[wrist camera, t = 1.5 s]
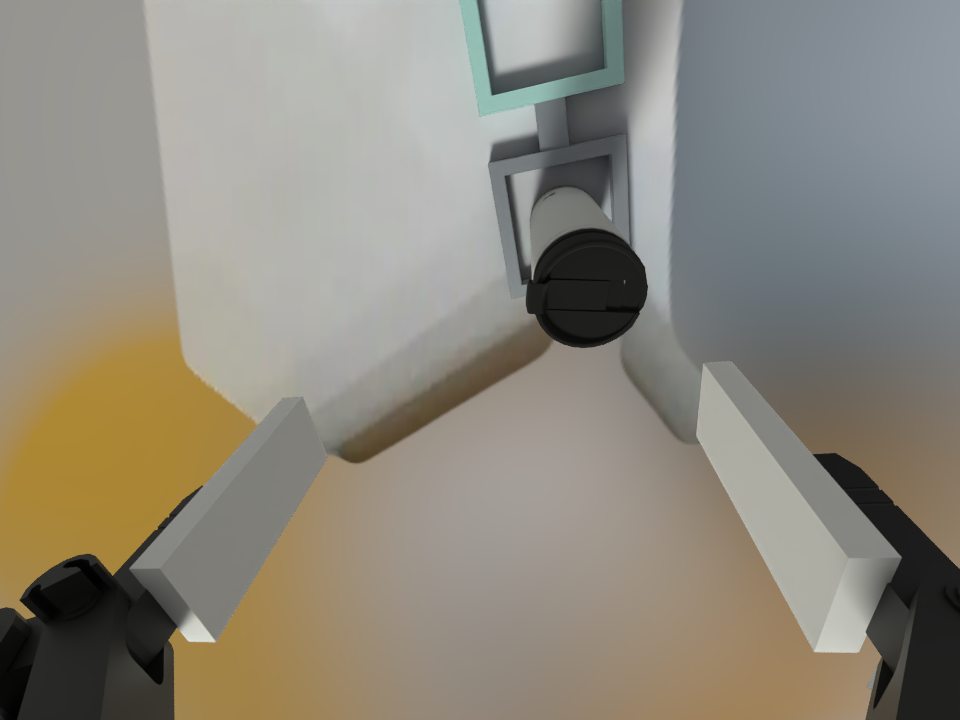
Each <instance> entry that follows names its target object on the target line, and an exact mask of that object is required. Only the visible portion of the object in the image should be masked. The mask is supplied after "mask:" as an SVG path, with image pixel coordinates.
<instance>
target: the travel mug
mask: <svg viewBox="0 0 960 720" xmlns="http://www.w3.org/2000/svg"><path fill="white" fill-rule="evenodd" d="M530 242H531V271H532V280H529V282H528V284H527V290H526V307H527V312H528V313H529V314H535V315H536V317H537V320H538V322H539V324H540V326H541V327H542V329H543V330H544V331H545V332H546V333H547V334H548V335H549V336H550V337H551V338H553V339H554V340H556V341H558V342H560V343H562V344H564V345H568V346H571V347H579V348H588V347H596V346H600V345H604V344H606V343H608V342H611V341H613V340H615V339H617V338H618V337H620V336H621V335H623V334H624V333H625V332H626V331H628V330H629V329H630V328H631V327H632V326H633V324H634V322H635V321H636V319H637V318H638V316H639V314H640V313H639V311H640V310H641V309H642V308H643V306H644V303H645V300H646V297H647V290H648V285H647V279H646V273H645V267H644V265H643V264H642V262H641V260H640V259H639V257H638V256H637V255H636V254H635V252H634V250H633V249H632V247H631V246H630V244H629V243H628V242H627V241H626V239H625V238H624V237H623V236H622V234H621V233H620V232H619V231H618V230H617V228H616V227H615V226H614V225H613V223H612V222H611V221H610V220H609V218H608V217H607V216H606V215H605V213H604V212H603V211H602V210H601V209H600V207H599V206H598V205H597V204H596V202H595V201H594V200H593V199H592V197H591V196H590V195H589V194H588V193H587V192H585V191H583V190H582V189H580V188H577V187H573V186H560V187H556V188H553V189H551V190H549V191H547V192H546V193H545V194H544V195H542V196H541V197H540V199H539V200H538V201H537V202H536V204H535V206H534V207H533V210H532V213H531V217H530Z"/></svg>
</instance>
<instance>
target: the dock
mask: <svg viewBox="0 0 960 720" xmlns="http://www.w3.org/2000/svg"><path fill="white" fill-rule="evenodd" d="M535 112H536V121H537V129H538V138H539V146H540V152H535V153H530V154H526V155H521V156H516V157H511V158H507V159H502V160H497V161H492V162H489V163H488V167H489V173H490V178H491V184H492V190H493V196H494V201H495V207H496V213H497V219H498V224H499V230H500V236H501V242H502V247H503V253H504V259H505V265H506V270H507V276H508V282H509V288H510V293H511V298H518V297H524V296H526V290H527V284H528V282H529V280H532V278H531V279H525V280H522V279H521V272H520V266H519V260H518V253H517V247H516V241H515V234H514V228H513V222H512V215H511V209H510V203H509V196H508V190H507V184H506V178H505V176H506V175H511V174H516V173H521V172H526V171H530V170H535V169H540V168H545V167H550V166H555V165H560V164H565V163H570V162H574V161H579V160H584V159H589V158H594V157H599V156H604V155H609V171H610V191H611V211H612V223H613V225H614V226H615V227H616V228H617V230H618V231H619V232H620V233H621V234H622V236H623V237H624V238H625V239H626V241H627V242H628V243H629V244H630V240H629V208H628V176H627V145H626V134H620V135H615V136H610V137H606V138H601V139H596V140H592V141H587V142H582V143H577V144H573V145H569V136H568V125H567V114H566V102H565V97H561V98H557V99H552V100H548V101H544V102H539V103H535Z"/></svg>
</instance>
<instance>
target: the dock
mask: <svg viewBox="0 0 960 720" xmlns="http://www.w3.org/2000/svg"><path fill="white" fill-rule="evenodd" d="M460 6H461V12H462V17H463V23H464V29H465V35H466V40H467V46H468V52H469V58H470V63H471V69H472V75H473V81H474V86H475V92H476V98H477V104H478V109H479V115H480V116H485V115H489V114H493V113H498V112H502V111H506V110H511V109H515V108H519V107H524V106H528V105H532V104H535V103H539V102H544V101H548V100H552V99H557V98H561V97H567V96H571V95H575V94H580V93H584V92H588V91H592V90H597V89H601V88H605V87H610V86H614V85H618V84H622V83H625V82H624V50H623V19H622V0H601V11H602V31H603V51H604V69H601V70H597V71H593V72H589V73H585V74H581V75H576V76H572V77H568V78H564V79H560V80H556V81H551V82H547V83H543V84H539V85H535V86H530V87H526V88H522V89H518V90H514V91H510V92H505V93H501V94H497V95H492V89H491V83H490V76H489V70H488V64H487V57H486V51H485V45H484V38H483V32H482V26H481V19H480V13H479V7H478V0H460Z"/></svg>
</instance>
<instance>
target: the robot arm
mask: <svg viewBox="0 0 960 720" xmlns="http://www.w3.org/2000/svg"><path fill="white" fill-rule="evenodd" d="M696 436H697V438H698V440H699V442H700V444H701V446H702V447H703V449H704V451H705V453H706V455H707V457H708V458H709V460H710V462H711V464H712V466H713V467H714V469H715V471H716V473H717V475H718V477H719V478H720V480H721V482H722V484H723V486H724V488H725V489H726V491H727V493H728V495H729V496H730V498H731V500H732V502H733V504H734V506H735V508H736V510H737V512H738V513H739V515H740V517H741V518H742V521H743V522H744V524H745V526H746V528H747V530H748V531H749V533H750V535H751V537H752V539H753V541H754V543H755V544H756V546H757V548H758V550H759V552H760V554H761V555H762V557H763V559H764V561H765V563H766V564H767V566H768V568H769V570H770V572H771V574H772V575H773V577H774V579H775V581H776V583H777V585H778V587H779V588H780V590H781V592H782V594H783V596H784V598H785V599H786V601H787V603H788V605H789V607H790V609H791V610H792V612H793V614H794V616H795V617H796V620H797V621H798V623H799V625H800V627H801V629H802V631H803V632H804V634H805V636H806V638H807V640H808V641H809V643H810V645H811V647H812V649H813V651H814V652H845V653H847V652H848V653H858V652H859V650H860V648H861V646H862V644H863V642H864V639H865V637H866V635H868V637H869V638H870V640H871V641H872V643H873V644H874V646H875V647H876V649H877V650H878V652H879V653H880V655H881V656H882V658H881V660H880V662H879V664H878V666H877V668H876V670H875V672H874V673H873V676H872V677H871V679H870V681H869V683H868V686H867V687H868V688H869V689H871V690H872V693H871V698H870V702H869V706H868V711H867V715H866V720H960V569H959V568H958V567H957V566H956V565H955V564H954V563H953V562H952V561H951V560H950V559H949V558H948V557H947V556H946V555H945V554H944V553H943V552H942V551H941V550H940V549H939V548H938V547H937V546H936V545H935V544H934V543H933V542H932V541H931V540H930V539H929V538H928V537H927V536H926V535H925V534H924V533H923V532H922V530H921V529H920V528H918V526H917V525H916V524H915V523H914V522H913V521H912V520H911V519H910V518H908V516H907V515H906V514H904V512H903V511H902V510H901V509H900V508H899V507H898V506H895V505H894V504H893V501H892V500H891V499H890V498H889V497H888V496H887V495H886V494H885V493H884V492H883V491H882V490H879V488H878V486H877V484H875V482H874V481H873V480H871V478H870V477H869V476H868V475H867V474H866V473H865V472H864V471H863V470H862V469H861V468H860V467H858V466H856V465H855V464H853V463H851V462H849V461H848V460H846V459H844V458H843V457H841V456H840V455H838V454H836V453H829V454H811V452H810V451H809V450H808V449H807V448H806V447H805V446H804V444H803V443H802V442H801V441H800V440H799V439H798V438H797V436H796V435H795V434H794V433H793V432H792V431H791V429H790V428H789V427H788V426H787V425H786V424H785V423H784V421H783V420H782V419H781V418H780V417H779V416H778V414H777V413H776V412H775V411H774V410H773V409H772V408H771V406H770V405H769V404H768V403H767V402H766V401H765V400H764V398H763V397H762V396H761V395H760V394H759V393H758V392H757V391H756V389H755V388H754V387H753V386H752V385H751V383H750V382H749V381H748V380H747V379H746V378H745V377H744V375H743V374H742V373H741V372H740V371H739V370H738V368H736V366H735V365H734V364H733V363H732V362H731V361H725V362H712V363H703V373H702V383H701V393H700V403H699V413H698V423H697V433H696ZM327 458H328V457H327V454H326V452H325V449H324V447H323V445H322V442H321V440H320V437H319V435H318V432H317V430H316V428H315V425H314V423H313V420H312V418H311V416H310V413H309V411H308V408H307V406H306V404H305V401H304V399H303V397H292V398H282V400H281V401H280V402H279V403H278V404H277V405H276V406H275V407H274V408H273V410H272V411H271V412H270V413H269V414H268V415H267V416H266V417H265V418H264V420H263V421H262V422H261V423H260V424H259V425H258V426H257V427H256V428H255V430H254V431H253V432H252V433H251V434H250V435H249V436H248V437H247V438H246V440H245V441H244V442H243V443H242V444H241V445H240V446H239V447H238V449H237V450H236V451H235V452H234V453H233V454H232V455H231V456H230V457H229V459H227V461H226V462H225V463H224V464H223V465H222V466H221V467H220V468H219V469H218V471H217V472H216V473H215V474H214V475H213V476H212V477H211V478H210V479H209V481H208V482H207V483H206V484H205V485H204V486H201V487H200V488H198V489H197V490H195V491H194V492H193V493H191V494H190V495H189V496H187V497H186V498H185V499H183V500H182V501H181V503H180V504H179V505H178V506H177V507H176V508H175V509H174V510H173V511H172V512H171V513H170V516H169V518H166V519H165V520H164V521H163V522H162V523H161V524H160V525H159V526H158V530H155V531H154V532H153V533H152V534H151V535H150V536H149V537H148V538H147V539H146V541H145V542H144V543H143V544H142V545H141V546H140V547H139V548H138V549H137V550H136V552H134V553H133V555H132V556H131V557H130V558H129V559H128V560H127V561H126V562H125V563H124V564H123V565H122V566H121V568H120V569H119V570H118V571H117V572H116V573H115V574H114V575H113V576H112V575H111V573H110V572H109V571H108V570H107V569H106V568H105V567H104V565H103V564H102V563H101V562H100V561H99V560H98V559H97V557H96V556H94V555H91V554H84V555H78V556H75V557H72V558H70V559H67V560H65V561H63V562H61V563H59V564H58V565H56V566H54V567H52V568H51V569H49V570H48V571H47V572H46V573H44V574H42V575H41V576H40V577H39V578H37V579H36V580H35V581H34V582H33V583H32V584H31V585H30V586H29V587H28V588H27V589H26V590H25V592H24V594H23V595H22V597H21V599H20V601H21V602H22V603H23V604H24V605H25V606H26V607H27V608H28V609H29V610H30V611H31V612H32V613H34V614H35V615H36V617H33V618H30V619H25V618H23V617H22V616H21V615H20V614H19V613H18V612H17V611H16V610H15V609H12V608H7V607H6V608H2V609H0V720H174V651H173V648H172V645H171V643H170V642H169V641H168V639H169V638H170V636H171V635H172V634H173V632H174V631H175V629H176V628H178V629H179V630H180V632H181V633H182V634H183V635H184V636H185V638H186V639H187V640H188V641H190V642H217V640H218V638H219V637H220V635H221V633H222V632H223V630H224V628H225V627H226V625H227V623H228V622H229V620H230V618H231V617H232V615H233V614H234V612H235V610H236V609H237V607H238V605H239V604H240V602H241V600H242V599H243V597H244V595H245V594H246V592H247V590H248V589H249V587H250V585H251V584H252V582H253V580H254V579H255V577H256V575H257V574H258V572H259V570H260V569H261V567H262V565H263V564H264V562H265V560H266V559H267V557H268V556H269V554H270V552H271V550H272V549H273V547H274V545H275V544H276V542H277V540H278V539H279V537H280V536H281V534H282V532H283V531H284V529H285V527H286V526H287V524H288V522H289V521H290V519H291V517H292V516H293V514H294V512H295V511H296V509H297V507H298V506H299V504H300V502H301V501H302V499H303V497H304V496H305V494H306V492H307V491H308V489H309V488H310V486H311V484H312V483H313V481H314V479H315V478H316V476H317V474H318V473H319V471H320V469H321V468H322V466H323V464H324V463H325V461H326V459H327Z"/></svg>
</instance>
